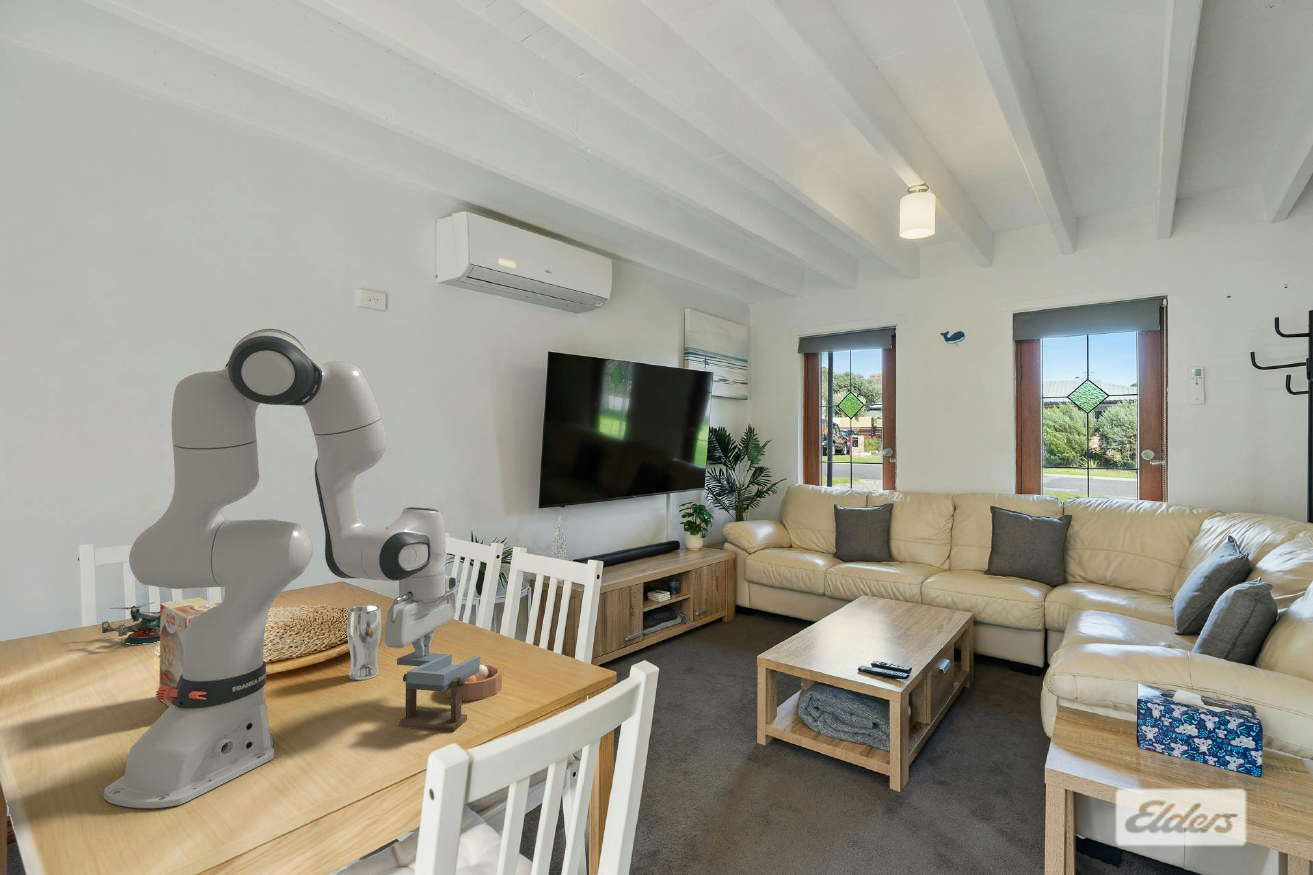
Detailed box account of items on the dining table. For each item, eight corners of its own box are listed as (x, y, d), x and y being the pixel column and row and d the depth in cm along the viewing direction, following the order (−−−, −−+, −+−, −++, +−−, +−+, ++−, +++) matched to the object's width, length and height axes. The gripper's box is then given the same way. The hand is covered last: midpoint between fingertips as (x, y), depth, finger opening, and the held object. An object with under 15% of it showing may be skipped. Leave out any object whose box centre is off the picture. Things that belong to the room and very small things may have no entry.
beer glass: (386, 670, 141) (387, 604, 141) (369, 681, 134) (370, 612, 134) (358, 668, 142) (358, 603, 142) (339, 680, 135) (340, 611, 135)
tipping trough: (443, 691, 111) (444, 674, 111) (370, 685, 114) (371, 668, 114) (479, 671, 125) (480, 656, 125) (413, 666, 127) (414, 651, 128)
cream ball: (489, 661, 133) (492, 674, 135) (474, 660, 134) (477, 673, 135) (482, 672, 130) (485, 686, 131) (467, 671, 131) (469, 684, 132)
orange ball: (475, 695, 127) (470, 685, 125) (459, 693, 128) (454, 684, 125) (481, 680, 130) (476, 670, 128) (466, 678, 130) (461, 669, 128)
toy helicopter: (199, 636, 164) (200, 605, 165) (132, 654, 150) (133, 620, 150) (153, 628, 172) (154, 598, 172) (85, 644, 158) (86, 611, 158)
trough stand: (455, 731, 111) (456, 683, 111) (396, 726, 113) (397, 678, 113) (469, 719, 116) (469, 673, 116) (412, 714, 118) (412, 669, 118)
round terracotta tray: (486, 702, 124) (486, 684, 124) (436, 697, 126) (436, 680, 126) (509, 681, 135) (509, 665, 135) (462, 677, 137) (463, 661, 137)
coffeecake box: (157, 699, 124) (158, 602, 125) (199, 688, 130) (200, 596, 130) (181, 719, 115) (183, 615, 116) (225, 706, 121) (227, 607, 121)
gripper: (406, 601, 113) (406, 675, 113) (461, 576, 133) (461, 639, 133) (375, 599, 114) (375, 673, 114) (435, 575, 135) (435, 638, 135)
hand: (422, 655), depth 124 cm, fingers closed
